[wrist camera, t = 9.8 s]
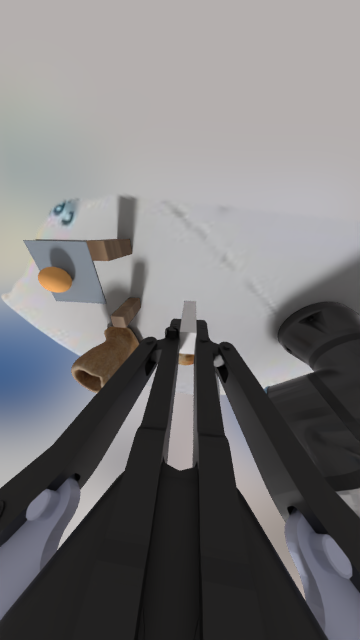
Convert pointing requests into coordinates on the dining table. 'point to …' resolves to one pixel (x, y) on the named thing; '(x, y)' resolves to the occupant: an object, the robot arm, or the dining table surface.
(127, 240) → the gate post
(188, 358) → the bread roll
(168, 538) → the robot arm
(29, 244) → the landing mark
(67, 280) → the ball
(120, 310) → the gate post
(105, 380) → the brown boot
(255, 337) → the dining table surface
